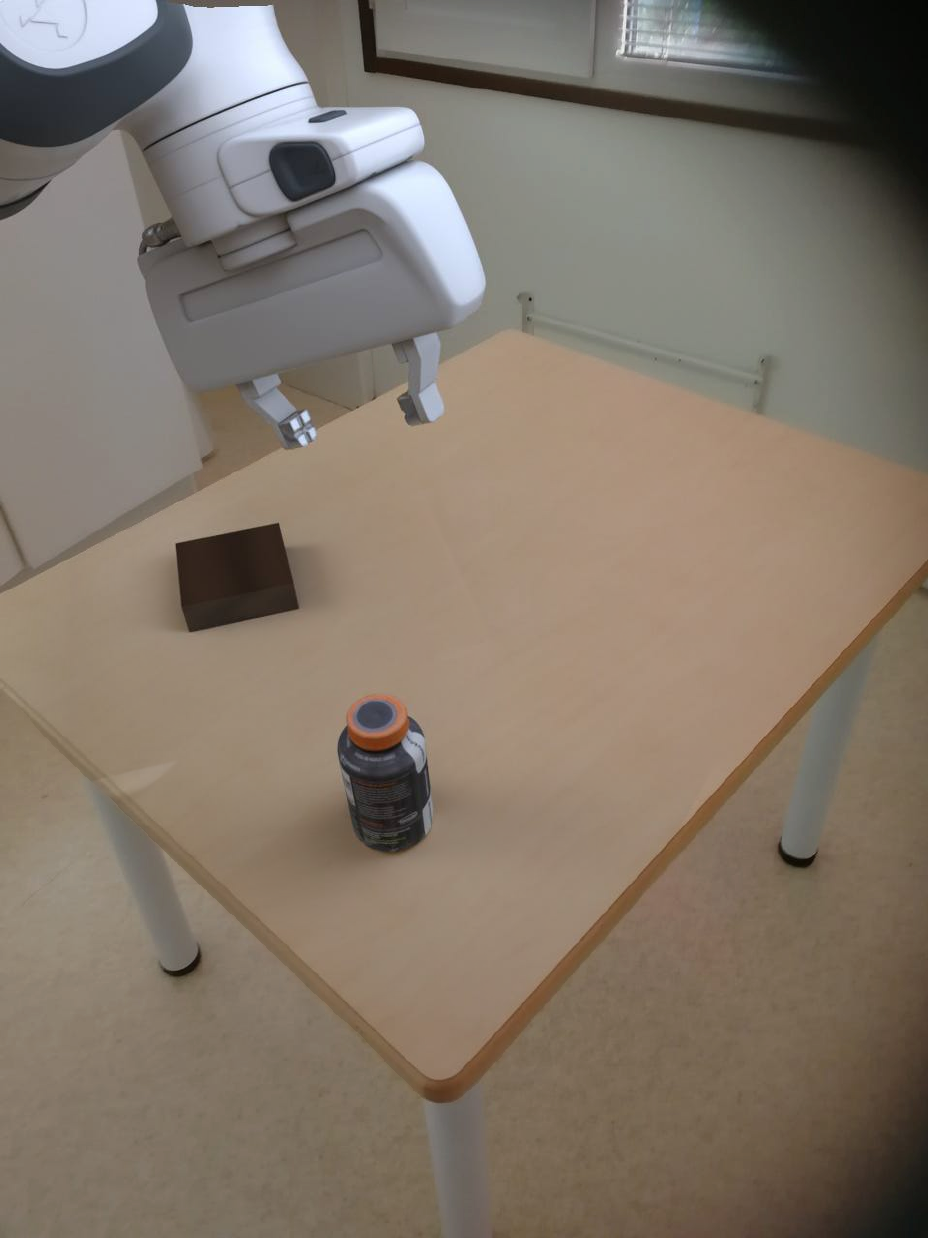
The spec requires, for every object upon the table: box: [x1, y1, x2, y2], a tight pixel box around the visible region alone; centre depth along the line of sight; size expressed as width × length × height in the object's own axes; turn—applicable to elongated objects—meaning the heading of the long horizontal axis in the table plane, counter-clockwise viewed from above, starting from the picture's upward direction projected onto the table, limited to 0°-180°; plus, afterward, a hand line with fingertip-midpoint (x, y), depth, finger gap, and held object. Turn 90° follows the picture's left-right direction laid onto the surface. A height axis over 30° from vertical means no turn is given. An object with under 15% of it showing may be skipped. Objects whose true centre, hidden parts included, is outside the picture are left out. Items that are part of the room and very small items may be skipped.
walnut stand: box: [174, 522, 300, 633], centre depth 90 cm, size 10×10×3 cm
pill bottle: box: [336, 693, 434, 853], centre depth 66 cm, size 6×6×11 cm
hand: (361, 433), depth 54 cm, fingers open, 8 cm apart
